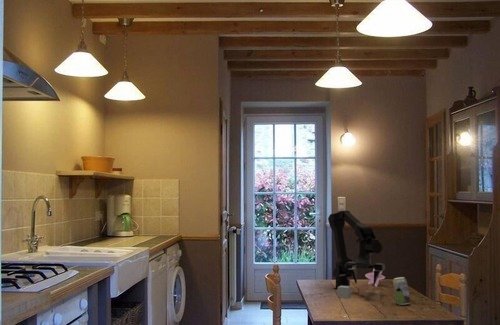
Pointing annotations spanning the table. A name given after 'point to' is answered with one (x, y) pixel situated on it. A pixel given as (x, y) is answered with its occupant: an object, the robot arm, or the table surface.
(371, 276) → the lily
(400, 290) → the beverage can
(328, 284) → the table surface
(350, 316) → the table surface
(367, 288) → the terracotta block
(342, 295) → the slate-grey block
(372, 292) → the walnut block
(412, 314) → the table surface
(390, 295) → the table surface
